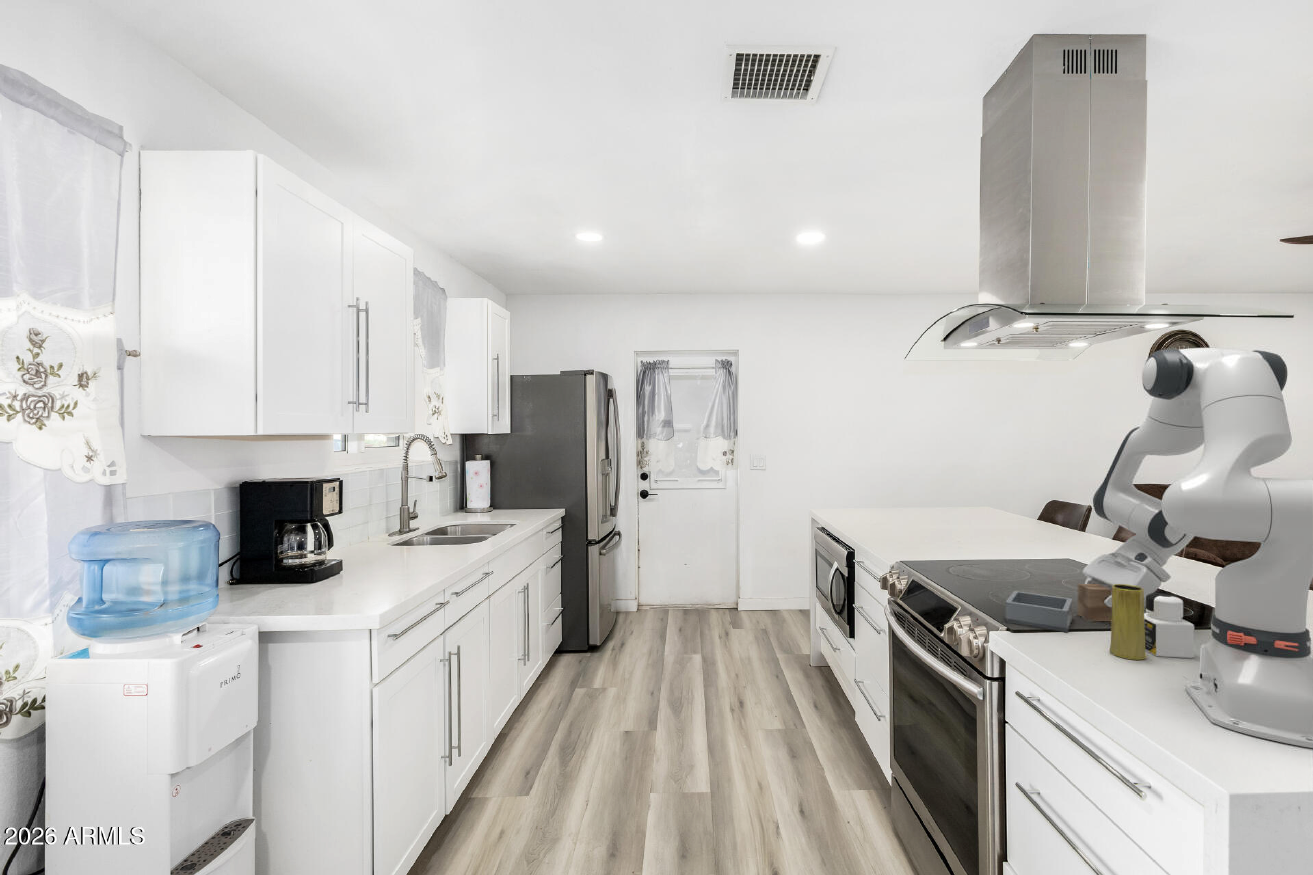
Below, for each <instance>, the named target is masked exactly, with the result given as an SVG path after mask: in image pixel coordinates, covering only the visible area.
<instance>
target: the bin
mask: <svg viewBox="0 0 1313 875" xmlns="http://www.w3.org/2000/svg"><path fill="white" fill-rule="evenodd" d="M1073 604H1074V603H1073V598H1067V597H1062V596H1055V595H1048V594H1040V593H1034V592H1025V591H1018V590H1014V591H1013V592H1012V593H1011V594H1010V596H1009V597H1008V598H1007V599H1006V601H1005V623H1008V624H1014V623H1015V624H1014V625H1020V626H1025V627H1026V626H1027V627H1033V628H1036V629H1037V628H1039V629H1042V630H1043V629H1045V630H1052V631H1056V632H1062V633H1069V630H1070V627H1071V624H1072V622H1073V619H1074V618H1073V616H1074V615H1073V607H1074V606H1073ZM1072 618H1073V619H1072ZM1071 621H1072V622H1071ZM1070 623H1071V624H1070ZM1069 626H1070V627H1069Z"/></svg>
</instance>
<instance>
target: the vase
mask: <svg viewBox="0 0 1313 875" xmlns="http://www.w3.org/2000/svg"><path fill="white" fill-rule="evenodd" d="M1111 595H1112V607H1111V622H1110V623H1111V624H1110V625H1111V627H1110V645H1109V652H1110V654H1112V655H1113V656H1114V657H1115V656H1116V657H1119V658H1121V659H1126V660H1131V661H1132V660H1133V661H1142V660H1145V659H1147V655H1146V650H1145V621H1144V613H1145V602H1144V601H1145V599H1144V590H1143V588H1141V587H1138V586H1133V585H1126V584H1114V585H1112V590H1111Z"/></svg>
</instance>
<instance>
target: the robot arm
mask: <svg viewBox="0 0 1313 875" xmlns="http://www.w3.org/2000/svg"><path fill="white" fill-rule="evenodd" d="M1142 368H1143V369H1142V372H1141V380H1142V387H1143V389H1144V391H1145V392H1146V393H1147V394H1148V395H1149V396H1150V397H1153V398H1152V399H1151V403H1150V406H1149V408H1148V411H1147V416H1146V418H1145V420H1144V421H1143V424H1142V425H1140V426H1137V427H1135V428H1132V429H1131V430H1130V431H1128V433H1127V434H1126V435H1125V437H1124V439H1123V441H1121V444H1120V445H1119V447H1118V450H1117V452H1116V454H1115V455H1114V458H1113V460H1112V463H1111V465H1110V467H1109V469H1108V471H1107V474H1106V476H1105V477H1104V480H1103V482H1102V483H1101V484H1100V486H1099V487H1098V488H1097V490H1096V491H1095V493H1094V495H1093V497H1092V505H1093V509H1094V512H1095V514H1096V516H1098V517H1099V518H1101V519H1104V520H1107V521H1109V522H1111V523H1114V524H1116V525H1118V526H1120V527H1122V528H1124V529H1125V530H1127V531H1130V532H1132V533H1133V534H1135V535H1133V536H1131V537H1129V538H1128V539H1127V540H1126V541H1124V543H1122V544H1121V546H1119V547H1118V548H1117V549H1116V550H1114V552H1111V553H1106V554H1102V555H1100V556H1098V557H1096V558H1095V559H1094V560H1092V561H1091V562H1090V563H1088V564H1087V565H1086V566H1085V567H1084V568H1083V570H1082V574H1083V575H1084V576H1085V577H1086V580H1085V582H1084V584H1100V585H1102V586H1104V587H1107V588H1109V589H1111V591H1112V585H1114V584H1126V585H1133V586H1138V587H1141V588H1143V590H1144V600H1146V596H1147V595H1148V594H1152V593H1155V591H1157V589H1159V588H1160V587H1161V585H1162V583H1166V582H1168V581H1169V580H1170V579H1171V575H1170V574H1169V573H1168V571H1166V570H1165V569H1164V568H1163V567H1164V566H1165V565H1166V564H1167V562H1168V560H1169V559H1170V558H1172V557H1173V556H1174V555H1177V554H1178V553H1180V552H1181V551H1182V550H1183V549H1184V548H1185V547H1186V546H1187V545H1188V544H1190V542H1191V541H1192V540H1193V539H1194V538H1195V537H1197V538H1202V539H1207V540H1208V539H1209V540H1219V541H1235V542H1236V541H1237V542H1238V541H1239V542H1252V543H1253V542H1254V543H1261V544H1260V547H1259V549H1258V550H1257V551H1256V552H1255V553H1254V554H1252V556H1251V557H1248V558H1246V559H1242V560H1239V561H1236V562H1232V563H1230V564H1228V565H1225V566H1224V567H1223V568H1221V569H1220V570H1219V571H1218V573H1217V574H1216V575H1215V576H1216V577H1215V580H1214V588H1215V590H1214V591H1215V592H1214V599H1215V600H1214V603H1215V604H1214V605H1215V606H1214V607H1215V608H1214V609H1215V610H1214V611H1215V612H1214V614H1213V615H1212V616H1211V622H1210V628H1211V636H1212V638H1211V640H1209V641H1208V642H1206V643H1204V644H1202V645H1200V653H1199V678H1198V679H1199V681H1198V682H1188V683H1186V684H1185V691H1186V692H1187V693H1188V695H1189V696H1190V698H1191V699H1192V700H1193V701H1194V702H1195V703H1196V705H1197V706H1198V708H1199V709H1200V710H1201V711H1202V712H1203V713H1204V715H1205V716H1206V717H1207V719H1208V720H1209V721H1210V722H1211V723H1213V724H1216V725H1217V726H1220V727H1223V728H1226V729H1228V730H1232V731H1235V732H1239V733H1241V734H1245V735H1249V736H1253V737H1256V738H1257V737H1258V738H1261V739H1266V740H1270V741H1274V742H1275V741H1276V742H1279V743H1284V744H1289V745H1293V746H1297V747H1298V746H1300V747H1305V748H1311V749H1313V658H1312V657H1311V656H1310V655H1311V654H1312V650H1311V645H1312V638H1311V634H1310V630H1309V629H1308V628H1307V610H1308V600H1309V598H1308V597H1309V592H1310V586H1311V582H1312V580H1313V479H1312V478H1279V477H1278V478H1275V477H1273V478H1271V477H1270V478H1269V477H1256V476H1254V475H1252V471H1251V469H1253V468H1255V467H1258V466H1261V465H1265V464H1267V463H1270V462H1272V461H1274V460H1277V459H1279V458H1281V457H1282V456H1283V455H1285V454H1286V453H1287V452H1288V450H1289V449H1290V448H1291V445H1292V441H1293V438H1292V434H1291V429H1290V428H1291V427H1290V424H1289V419H1288V414H1287V409H1286V405H1285V404H1286V403H1285V400H1284V396H1283V393H1282V392H1283V390H1284V388H1285V387H1286V384H1287V381H1288V367H1287V364H1286V361H1285V360H1284V359H1283V358H1282V356H1280V355H1279V354H1277V353H1274V352H1270V351H1264V350H1258V349H1257V350H1251V351H1249V350H1243V349H1242V350H1241V349H1234V348H1233V349H1230V348H1218V347H1194V348H1193V347H1192V348H1181V349H1179V348H1175V347H1174V348H1165V349H1160V350H1156V351H1155V352H1154V353H1152V354H1151V355H1150V356H1148V357H1147V359H1146V360H1145V363H1144V366H1143V367H1142ZM1202 445H1203V452H1202V455H1201V457H1200V459H1199V461H1198V463H1197V464H1196V465H1195V466H1194V468H1193V469H1192V470H1191V471H1190V472H1189V473H1187V474H1186V475H1184V476H1182V477H1181V478H1179V479H1176V480H1175V481H1174V482H1172V483H1171V484H1170V485H1169V486H1168V488H1166V490H1165V491H1164V493H1163V495H1162V497H1161V498H1162V499H1159V498H1157V497H1154V496H1152V495H1149V494H1147V493H1145V492H1143V491H1141V490H1138V489H1137V488H1136V487H1135V485H1134V483H1133V481H1134V479H1135V477H1136V476H1137V473H1138V471H1139V469H1140V467H1141V465H1142V463H1143V460H1144V459H1145V458H1146V457H1147V456H1159V457H1160V456H1161V457H1167V456H1168V457H1169V456H1172V457H1173V456H1179V455H1185V454H1189V453H1191V452H1193V451H1196V450H1197V449H1199V448H1200V447H1202ZM1102 602H1103V603H1104V604H1105V605H1106V606H1108V607H1111V608H1112V594H1111V596H1109V597H1108V596H1106V597H1105V598H1104V599H1103V600H1102Z"/></svg>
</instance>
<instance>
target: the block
mask: <svg viewBox="0 0 1313 875" xmlns="http://www.w3.org/2000/svg"><path fill="white" fill-rule="evenodd" d="M1111 595H1112V590H1111V589H1109V588H1107V587H1104V586H1102V585H1100V584H1085V583H1077V616H1078V615H1081V616H1082V617H1085V618H1086V619H1089V620H1093V621H1111V617H1112V607H1108V606H1106V605H1105V604H1104V603H1103V602H1102V600H1103V599H1104V598H1105V597H1106V596H1108V597H1109V596H1111ZM1082 617H1081V618H1082ZM1086 619H1085V620H1086Z"/></svg>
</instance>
